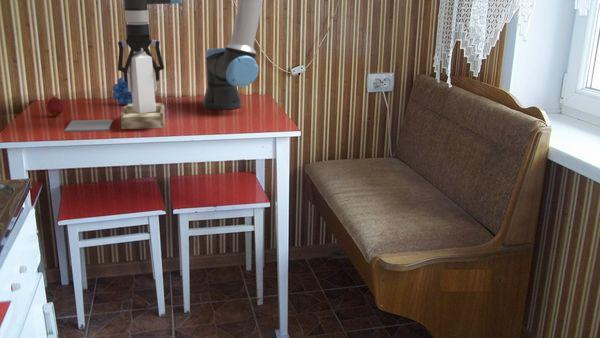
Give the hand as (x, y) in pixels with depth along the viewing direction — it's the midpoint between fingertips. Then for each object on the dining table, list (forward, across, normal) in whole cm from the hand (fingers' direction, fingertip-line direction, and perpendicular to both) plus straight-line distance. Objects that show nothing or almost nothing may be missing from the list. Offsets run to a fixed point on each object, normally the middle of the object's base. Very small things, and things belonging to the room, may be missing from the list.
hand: (142, 90), depth 210 cm
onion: (+12, +32, -15) cm, 38 cm away
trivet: (+11, +18, +2) cm, 22 cm away
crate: (+12, 0, 0) cm, 12 cm away
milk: (+7, 0, 0) cm, 7 cm away
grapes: (+12, +8, -33) cm, 36 cm away
